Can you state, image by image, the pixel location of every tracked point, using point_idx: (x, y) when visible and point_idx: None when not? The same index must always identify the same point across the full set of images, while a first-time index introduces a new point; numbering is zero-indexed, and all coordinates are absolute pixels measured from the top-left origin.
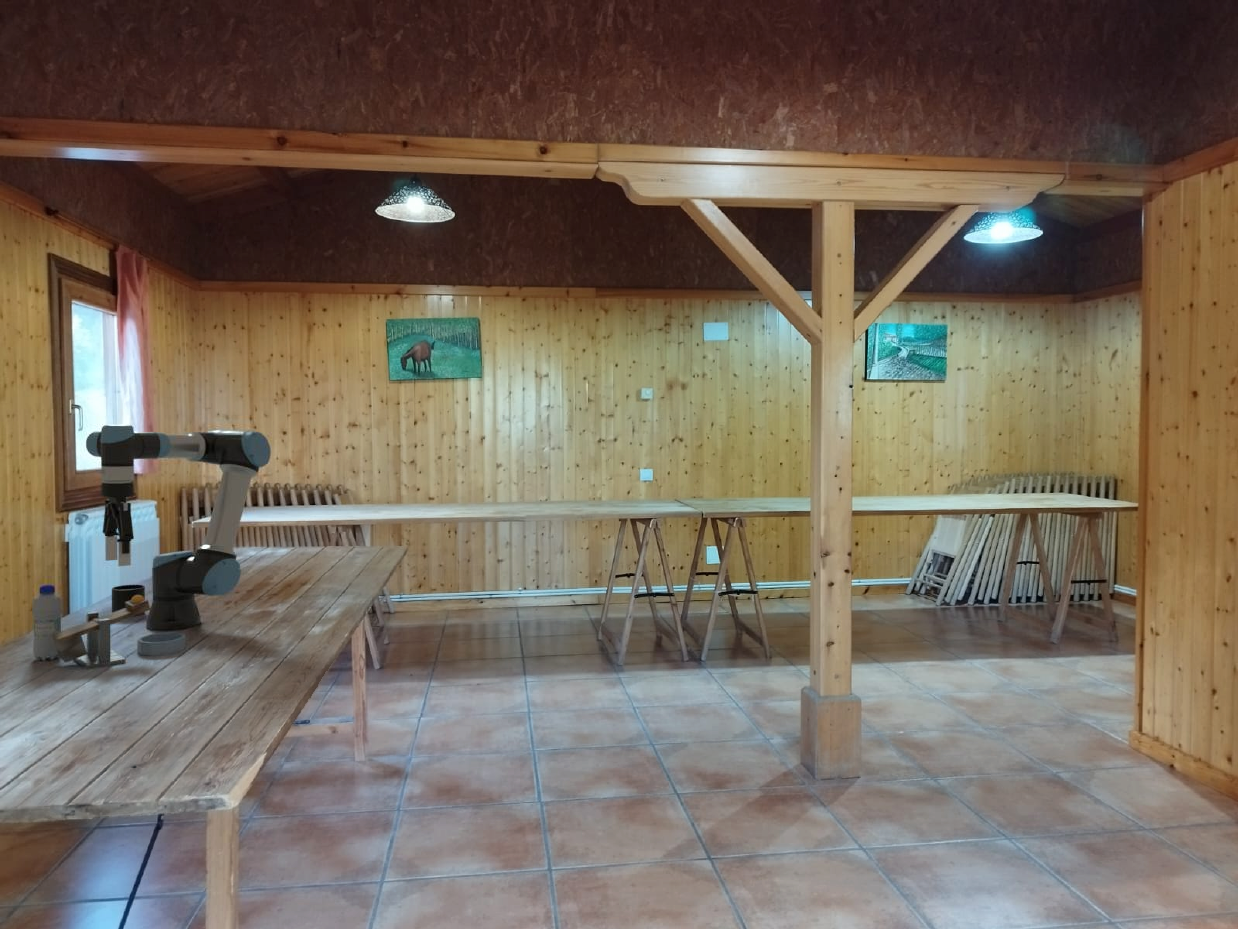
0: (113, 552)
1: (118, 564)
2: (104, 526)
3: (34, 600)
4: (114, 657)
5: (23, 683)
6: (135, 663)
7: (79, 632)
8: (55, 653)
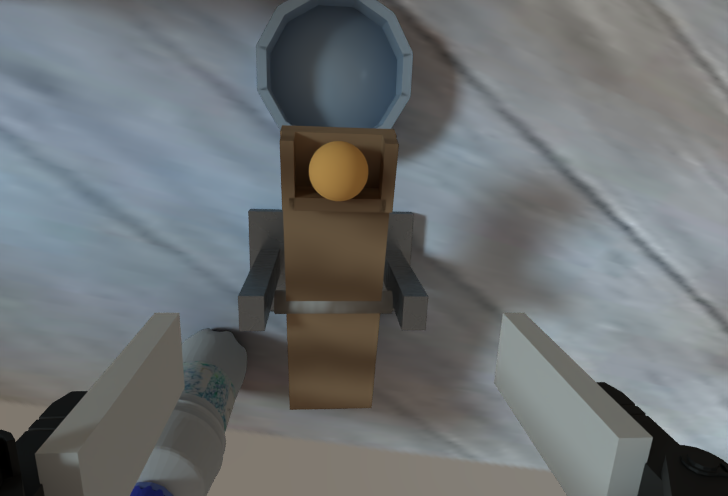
0: (160, 375)
1: (500, 389)
2: None
3: None
4: None
5: (424, 433)
6: (438, 193)
7: (375, 360)
8: (244, 351)
